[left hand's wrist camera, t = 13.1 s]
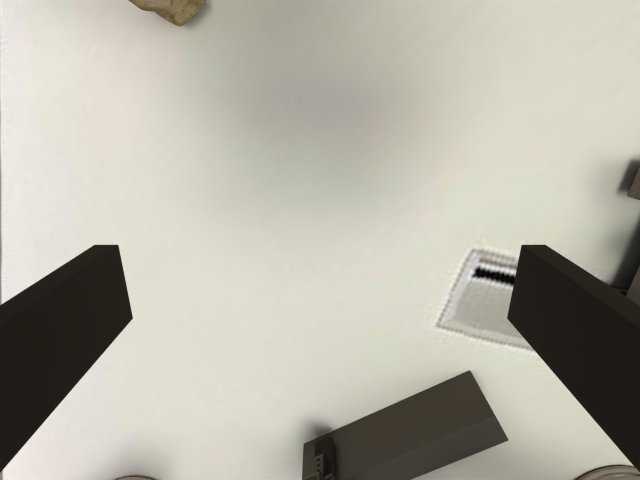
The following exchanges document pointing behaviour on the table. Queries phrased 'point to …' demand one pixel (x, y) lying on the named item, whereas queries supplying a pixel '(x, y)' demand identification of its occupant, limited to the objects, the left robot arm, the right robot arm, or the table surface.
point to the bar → (414, 434)
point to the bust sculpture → (134, 478)
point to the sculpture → (172, 9)
